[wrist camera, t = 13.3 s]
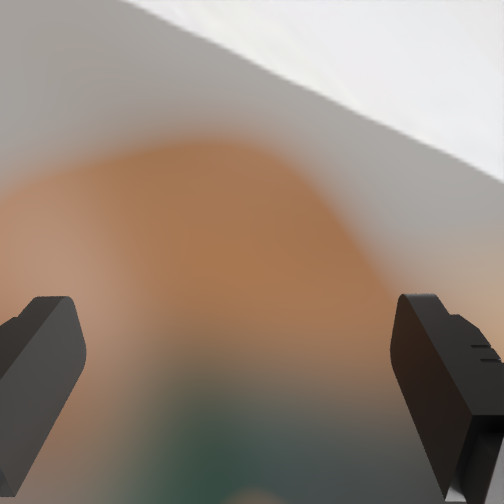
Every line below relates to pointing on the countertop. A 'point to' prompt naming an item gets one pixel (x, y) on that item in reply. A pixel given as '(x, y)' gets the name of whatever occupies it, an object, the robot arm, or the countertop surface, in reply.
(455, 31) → the countertop surface
